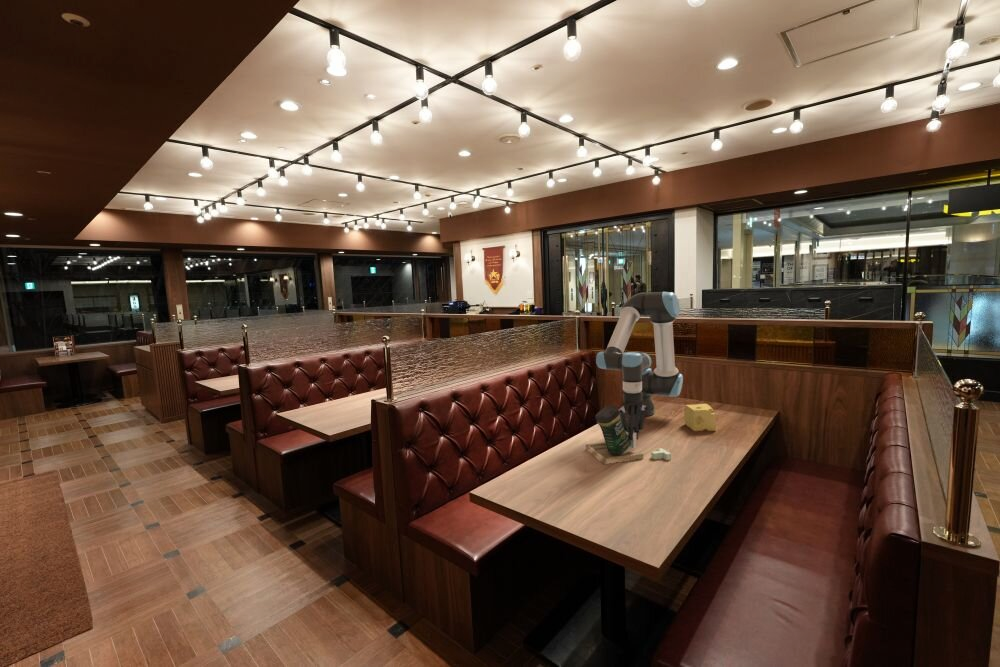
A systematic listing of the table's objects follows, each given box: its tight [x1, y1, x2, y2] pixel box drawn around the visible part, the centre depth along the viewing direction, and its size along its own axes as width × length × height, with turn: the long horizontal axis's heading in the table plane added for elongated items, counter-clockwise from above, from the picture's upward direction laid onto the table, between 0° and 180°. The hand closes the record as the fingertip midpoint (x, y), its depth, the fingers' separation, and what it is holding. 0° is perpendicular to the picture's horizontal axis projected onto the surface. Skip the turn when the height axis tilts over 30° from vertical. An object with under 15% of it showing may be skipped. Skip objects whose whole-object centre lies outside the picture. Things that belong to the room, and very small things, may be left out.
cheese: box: [683, 403, 717, 432], centre depth 201 cm, size 10×11×10 cm
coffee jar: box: [595, 404, 631, 456], centre depth 174 cm, size 10×8×19 cm
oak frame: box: [585, 441, 644, 465], centre depth 175 cm, size 16×17×2 cm
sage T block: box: [650, 447, 672, 461], centre depth 170 cm, size 6×6×2 cm
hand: (633, 447), depth 176 cm, fingers closed
